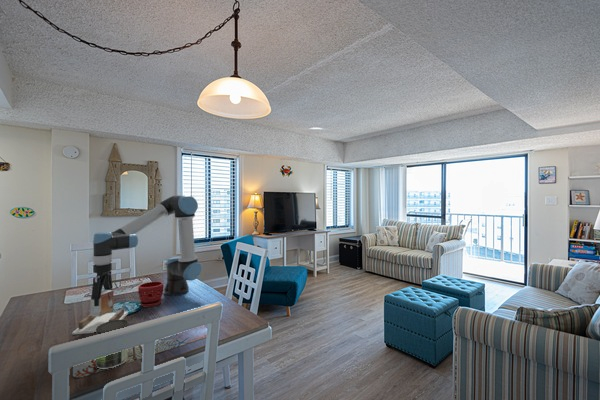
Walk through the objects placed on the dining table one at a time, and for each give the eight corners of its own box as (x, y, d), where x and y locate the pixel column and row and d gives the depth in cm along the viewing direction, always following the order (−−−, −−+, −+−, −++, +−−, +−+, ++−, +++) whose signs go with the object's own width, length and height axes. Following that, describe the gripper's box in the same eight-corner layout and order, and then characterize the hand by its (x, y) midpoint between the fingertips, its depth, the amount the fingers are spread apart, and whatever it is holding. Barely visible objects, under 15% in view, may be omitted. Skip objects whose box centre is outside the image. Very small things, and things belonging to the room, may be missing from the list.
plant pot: (168, 301, 167) (168, 281, 167) (150, 309, 154) (150, 288, 154) (151, 298, 171) (151, 279, 171) (132, 306, 159) (132, 286, 158)
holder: (94, 316, 146) (94, 308, 146) (128, 313, 149) (128, 306, 149) (72, 334, 126) (72, 325, 126) (111, 331, 130) (111, 322, 130)
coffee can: (108, 372, 99) (108, 334, 99) (89, 366, 103) (89, 328, 103) (134, 357, 109) (134, 321, 109) (116, 351, 112) (116, 317, 112)
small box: (99, 317, 133) (99, 295, 133) (90, 316, 134) (90, 294, 134) (113, 310, 141) (113, 290, 141) (104, 309, 142) (104, 289, 142)
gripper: (104, 258, 147) (104, 300, 147) (81, 269, 126) (81, 318, 126) (120, 258, 149) (120, 299, 149) (100, 268, 127) (100, 316, 128)
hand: (102, 308), depth 138 cm, fingers closed on small box, 9 cm apart
